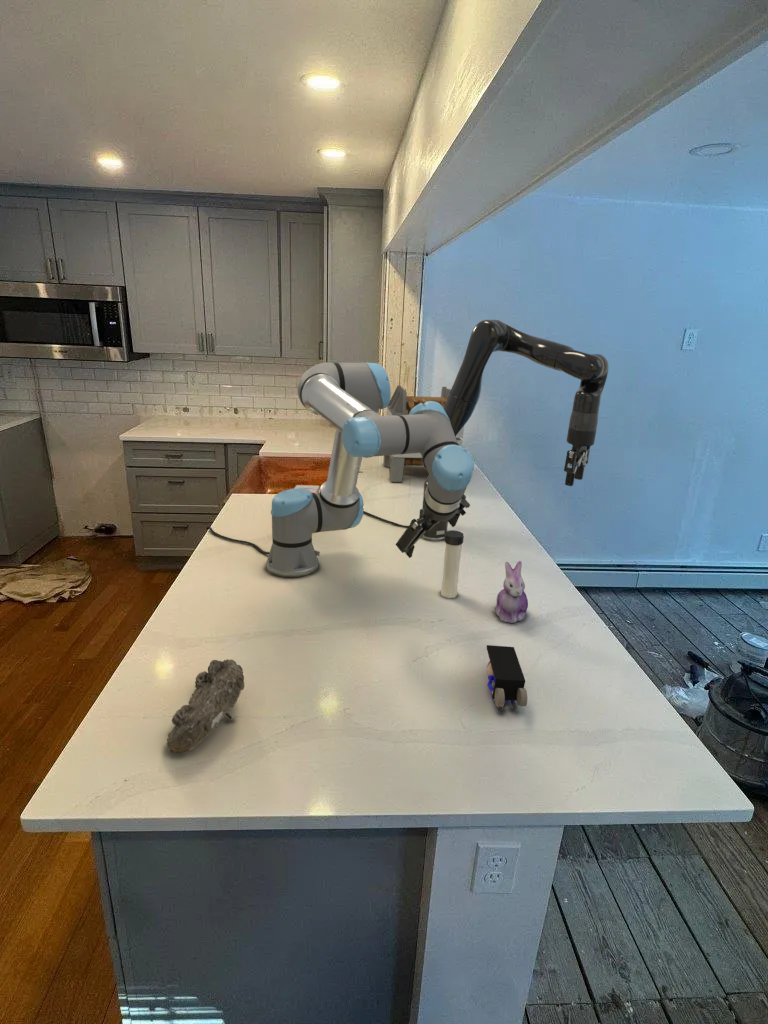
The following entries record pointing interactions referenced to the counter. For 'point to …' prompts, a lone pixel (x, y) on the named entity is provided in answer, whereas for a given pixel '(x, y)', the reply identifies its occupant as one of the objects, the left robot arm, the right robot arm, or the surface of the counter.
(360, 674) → the counter surface
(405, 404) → the transformer
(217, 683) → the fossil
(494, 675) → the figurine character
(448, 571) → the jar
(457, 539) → the lid
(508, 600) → the figurine
